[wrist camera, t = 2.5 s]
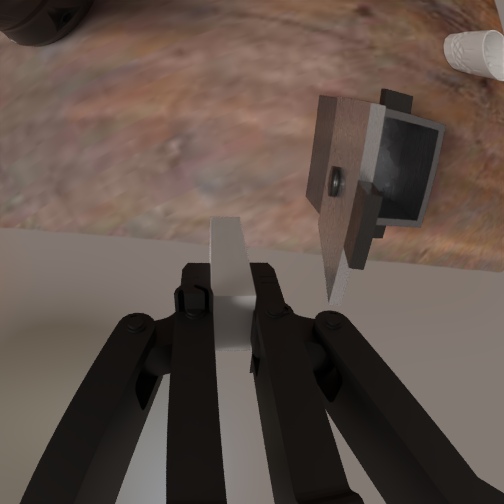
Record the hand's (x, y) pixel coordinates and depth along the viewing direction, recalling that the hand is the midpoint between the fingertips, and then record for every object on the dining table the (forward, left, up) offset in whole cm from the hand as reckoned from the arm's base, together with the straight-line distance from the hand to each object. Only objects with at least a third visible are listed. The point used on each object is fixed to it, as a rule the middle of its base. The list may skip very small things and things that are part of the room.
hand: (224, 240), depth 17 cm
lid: (0, +11, -10) cm, 15 cm away
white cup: (-21, +37, -28) cm, 51 cm away
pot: (0, +21, -28) cm, 35 cm away
